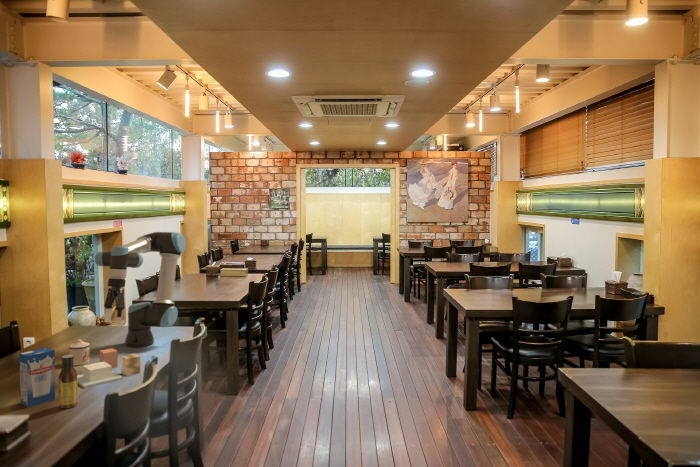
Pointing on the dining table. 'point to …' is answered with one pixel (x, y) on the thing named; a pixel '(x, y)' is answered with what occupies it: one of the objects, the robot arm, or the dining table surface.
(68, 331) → the dining table surface
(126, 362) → the maple block
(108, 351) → the terracotta block
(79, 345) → the teacup with lid
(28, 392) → the milk carton
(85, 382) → the base
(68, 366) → the sauce bottle
